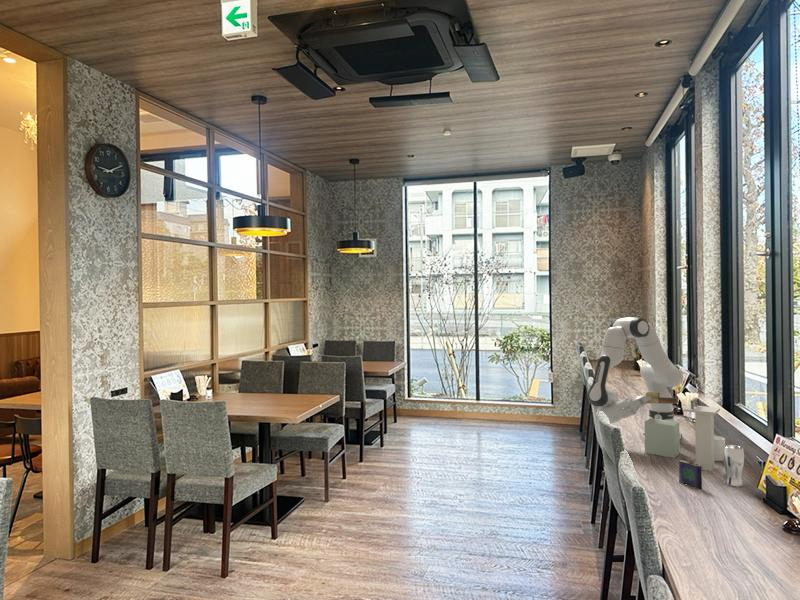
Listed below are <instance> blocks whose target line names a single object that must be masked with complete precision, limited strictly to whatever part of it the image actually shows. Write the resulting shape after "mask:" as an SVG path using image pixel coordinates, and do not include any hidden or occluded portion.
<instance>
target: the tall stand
mask: <svg viewBox="0 0 800 600" xmlns="http://www.w3.org/2000/svg"><path fill="white" fill-rule="evenodd" d="M698 398H699V397H694V398H692V399H691V400H690V404H688V405H687V406H686V407H685V408H684V407H683V412H685V413H687V412H688V413H694V414H695V415H694V418H695V419H694V420H695V421H694V422H695V423H694V425H695V427H694V429H695V464H696V463H697V464H698V465H701V471H707V470H709V472H712V471H713V470H714V469H715V461H714V436H715V424H714V423H715V419H714V416H715V415H717V414H718V413H719V412H720V411H721V407H716V406H715V407H714V406H706V405H704V406H703V405H698V401H699V400H698Z"/></svg>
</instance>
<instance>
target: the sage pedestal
mask: <svg viewBox="0 0 800 600" xmlns="http://www.w3.org/2000/svg"><path fill="white" fill-rule="evenodd" d="M647 419H648V418H647ZM644 431H645V434H644V454H649V455H654V454H656V456H660V455H661V457H666V456H667V457H666V458H673V459H675V458H676V457H677V456H678V455H680V452H681V451H680V439H679V431H680V421H676V420H675V421H667V420H660V419H652V418H650V419H648V420H647V421H646V420H645V421H644Z"/></svg>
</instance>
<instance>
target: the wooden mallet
mask: <svg viewBox="0 0 800 600" xmlns="http://www.w3.org/2000/svg"><path fill="white" fill-rule="evenodd" d="M645 395H646V397H648V396H651V397H652V399H651V400H649V401H647V404H650V403H652V404H658V403H666V404H674V405H675V404H676V405H678V404H679V398H678V397H672V398H666V397H660V392H649V391H647V392H646V393H645Z"/></svg>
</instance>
